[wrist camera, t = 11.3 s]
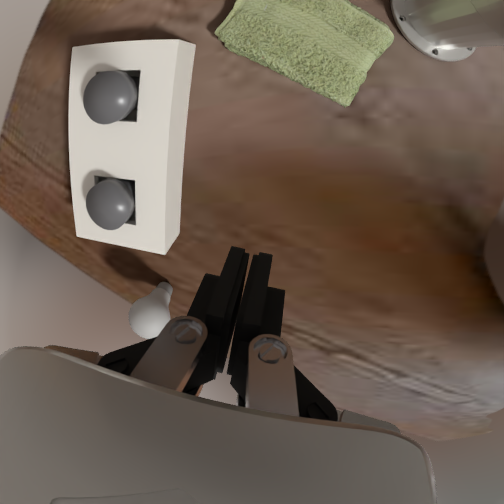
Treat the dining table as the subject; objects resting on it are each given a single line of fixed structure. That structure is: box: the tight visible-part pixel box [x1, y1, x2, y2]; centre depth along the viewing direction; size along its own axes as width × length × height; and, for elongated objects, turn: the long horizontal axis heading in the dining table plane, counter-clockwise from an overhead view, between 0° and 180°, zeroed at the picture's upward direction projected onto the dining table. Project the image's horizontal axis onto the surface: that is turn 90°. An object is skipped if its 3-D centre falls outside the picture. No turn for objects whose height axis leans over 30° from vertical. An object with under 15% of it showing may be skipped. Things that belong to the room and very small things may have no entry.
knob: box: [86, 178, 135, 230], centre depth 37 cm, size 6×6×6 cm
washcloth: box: [215, 0, 394, 108], centre depth 28 cm, size 13×18×3 cm
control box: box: [69, 39, 196, 255], centre depth 36 cm, size 26×14×6 cm, turn 172°
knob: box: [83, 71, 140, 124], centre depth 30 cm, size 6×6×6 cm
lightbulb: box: [129, 282, 173, 339], centre depth 45 cm, size 6×6×11 cm
